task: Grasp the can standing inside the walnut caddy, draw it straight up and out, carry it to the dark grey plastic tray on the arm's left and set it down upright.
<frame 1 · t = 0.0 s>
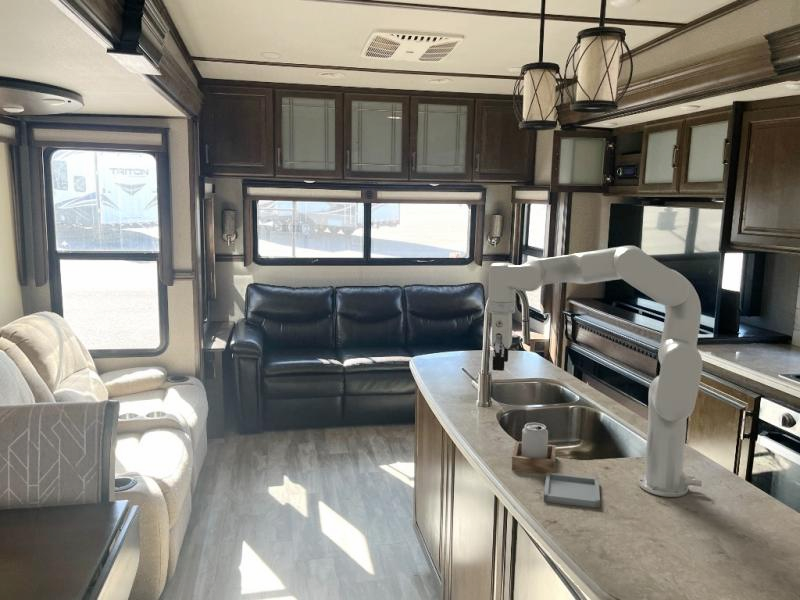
hand: (500, 365, 177), 31 cm above the worktop, fingers open, 9 cm apart
can: (534, 464, 185), resting in caddy
caddy: (534, 463, 185), on the worktop
tray: (571, 492, 167), on the worktop
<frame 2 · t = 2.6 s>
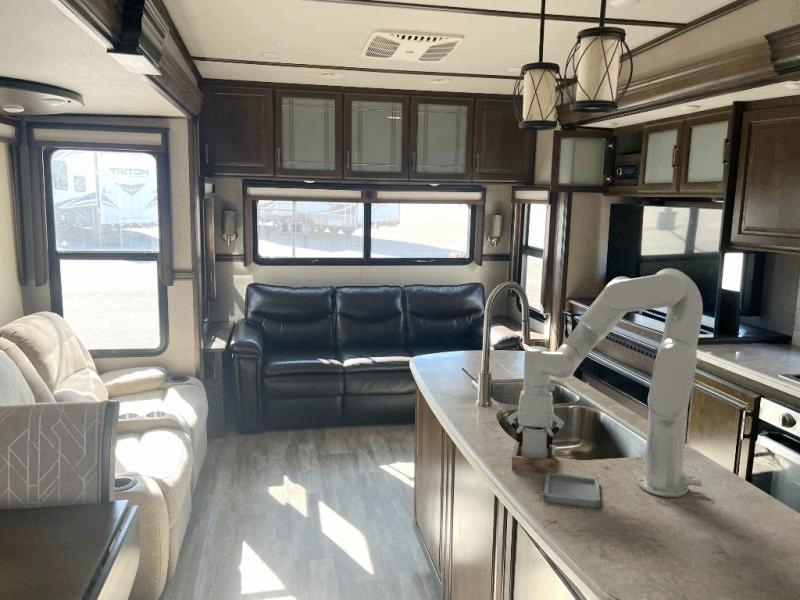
hand: (534, 445, 184), 6 cm above the worktop, fingers closed on can, 7 cm apart
can: (534, 464, 185), resting in caddy, touching gripper
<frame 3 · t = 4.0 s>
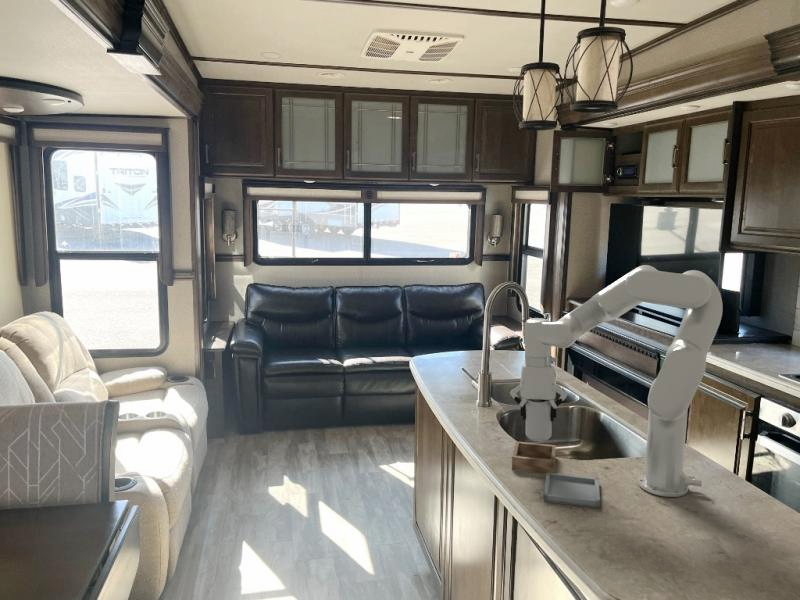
hand: (538, 418, 183), 14 cm above the worktop, fingers closed on can, 7 cm apart
can: (538, 438, 184), point 8 cm above the worktop, touching gripper
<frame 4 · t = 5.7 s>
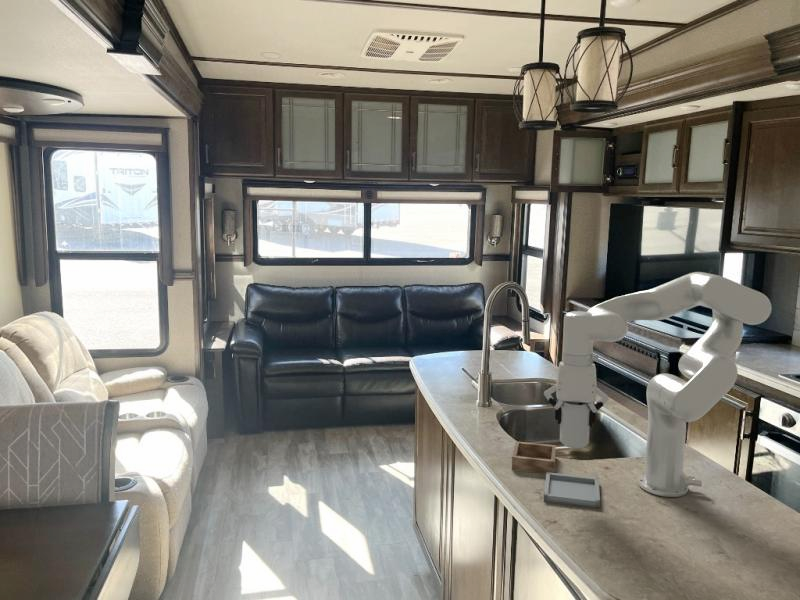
hand: (574, 423, 164), 20 cm above the worktop, fingers closed on can, 7 cm apart
can: (574, 444, 165), point 14 cm above the worktop, touching gripper
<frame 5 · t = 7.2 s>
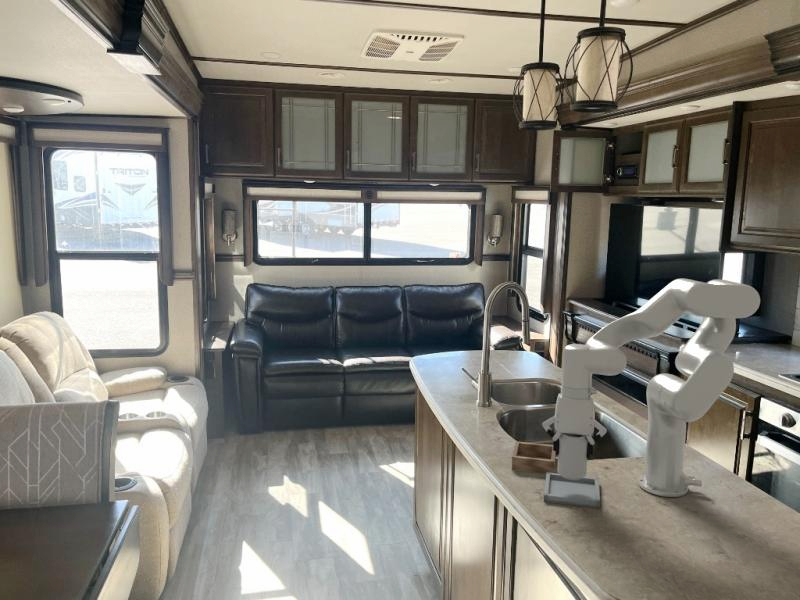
hand: (572, 454, 165), 11 cm above the worktop, fingers closed on can, 7 cm apart
can: (571, 475, 166), point 5 cm above the worktop, touching gripper
when the fingers open (7 cm above the worktop, at t = 8.5 s): can stays where it is, resting on tray.
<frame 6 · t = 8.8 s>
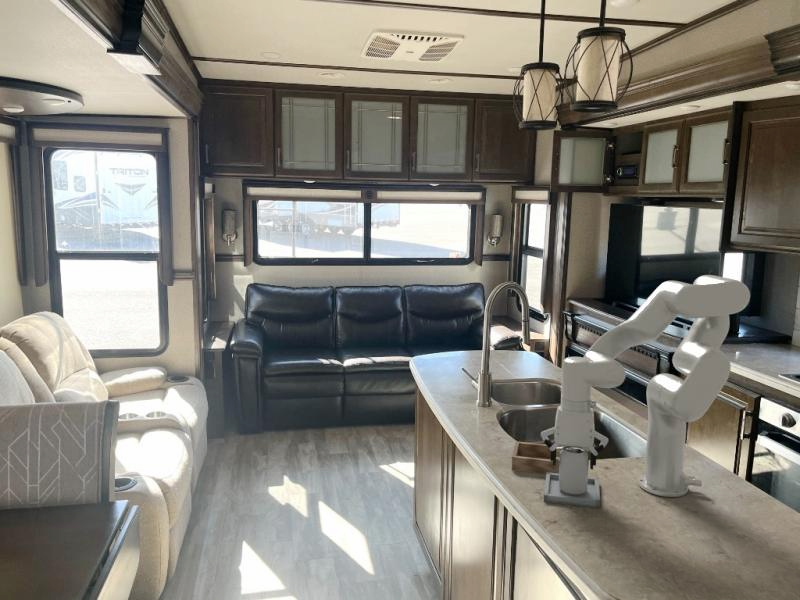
hand: (572, 465, 166), 8 cm above the worktop, fingers open, 9 cm apart
can: (572, 491, 167), resting on tray
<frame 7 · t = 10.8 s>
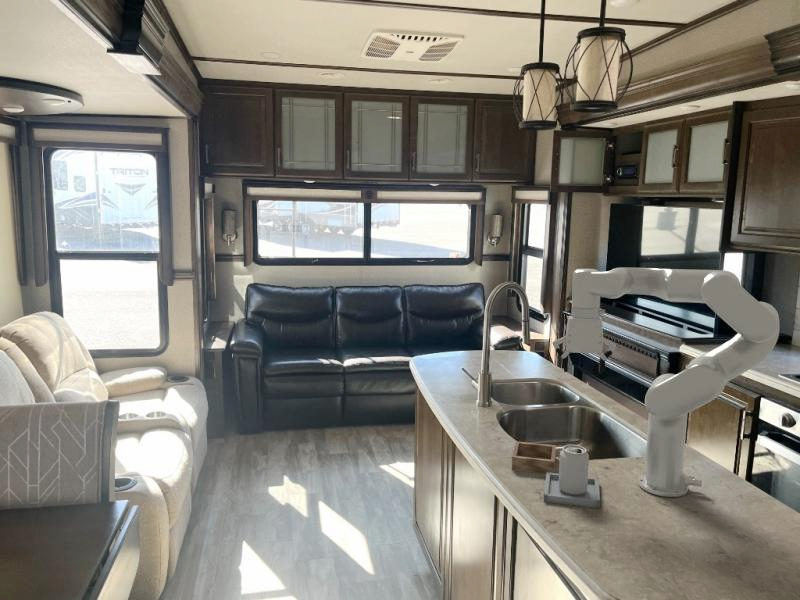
hand: (582, 371, 177), 29 cm above the worktop, fingers open, 9 cm apart
nothing on the worktop moved.
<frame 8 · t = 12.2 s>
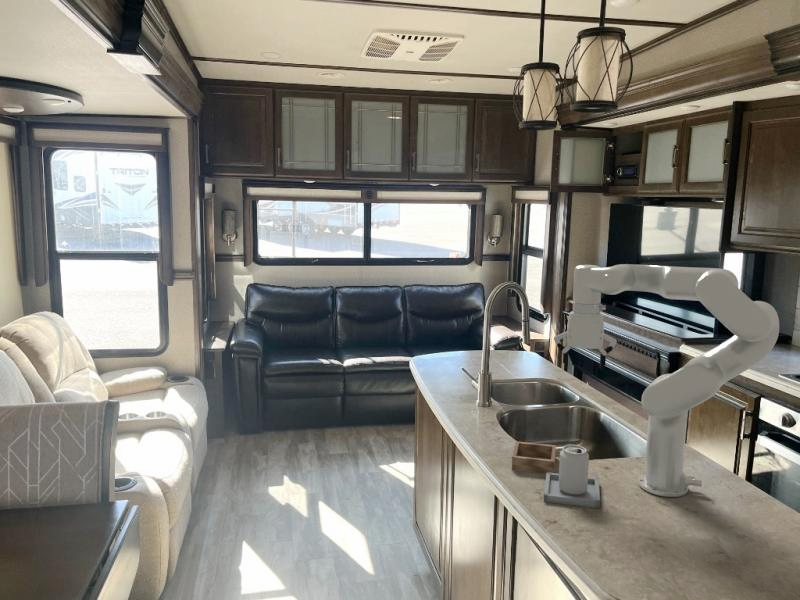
hand: (583, 366, 179), 30 cm above the worktop, fingers open, 9 cm apart
nothing on the worktop moved.
at the end: can inside the target area on the tray (0.3 cm from its centre), point 0.4 cm above the tray's base; can tilted 0°; the gripper is holding nothing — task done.
